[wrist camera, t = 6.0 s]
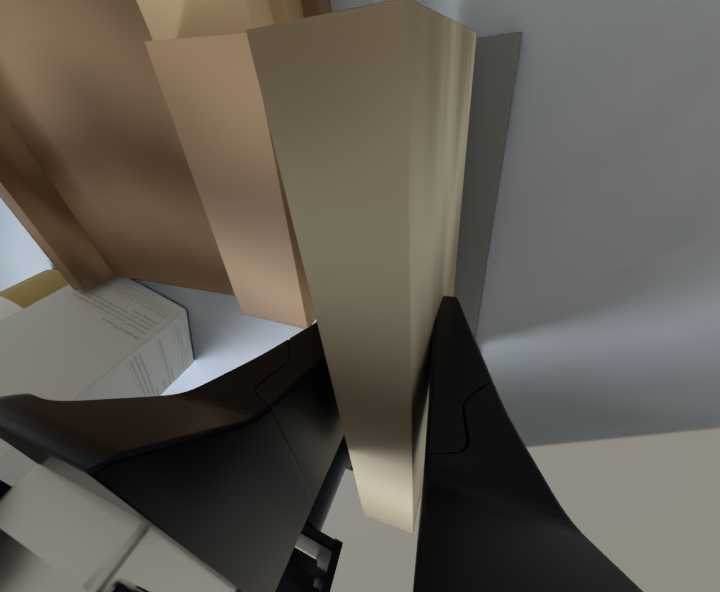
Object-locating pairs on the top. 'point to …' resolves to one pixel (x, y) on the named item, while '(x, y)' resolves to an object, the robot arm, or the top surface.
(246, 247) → the offcut stack
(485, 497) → the robot arm
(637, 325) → the top surface
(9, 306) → the log
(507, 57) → the mat
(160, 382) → the supplement box
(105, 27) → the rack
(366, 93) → the birch panel
